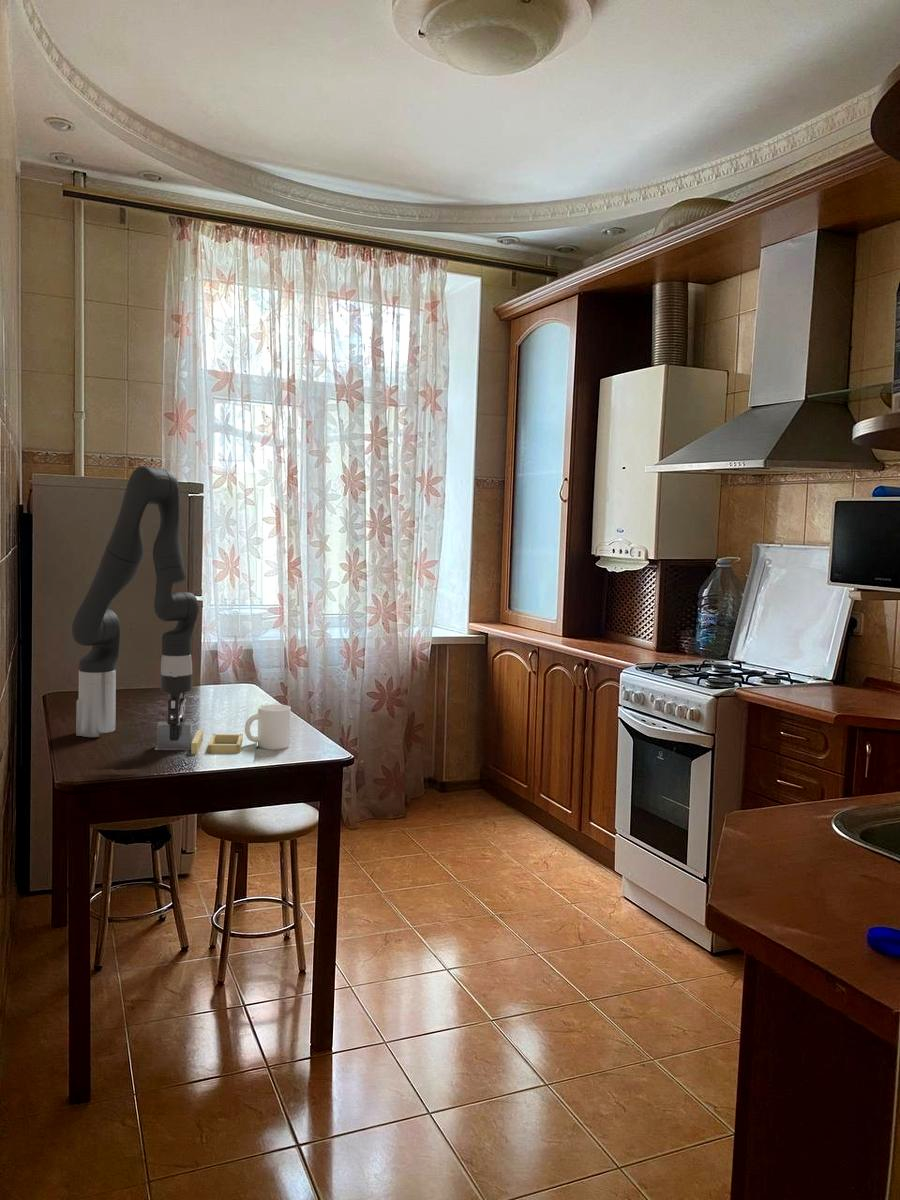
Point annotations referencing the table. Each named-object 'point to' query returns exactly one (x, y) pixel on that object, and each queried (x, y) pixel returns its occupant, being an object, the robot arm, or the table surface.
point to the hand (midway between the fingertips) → (176, 736)
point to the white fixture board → (215, 747)
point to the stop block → (166, 743)
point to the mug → (271, 726)
